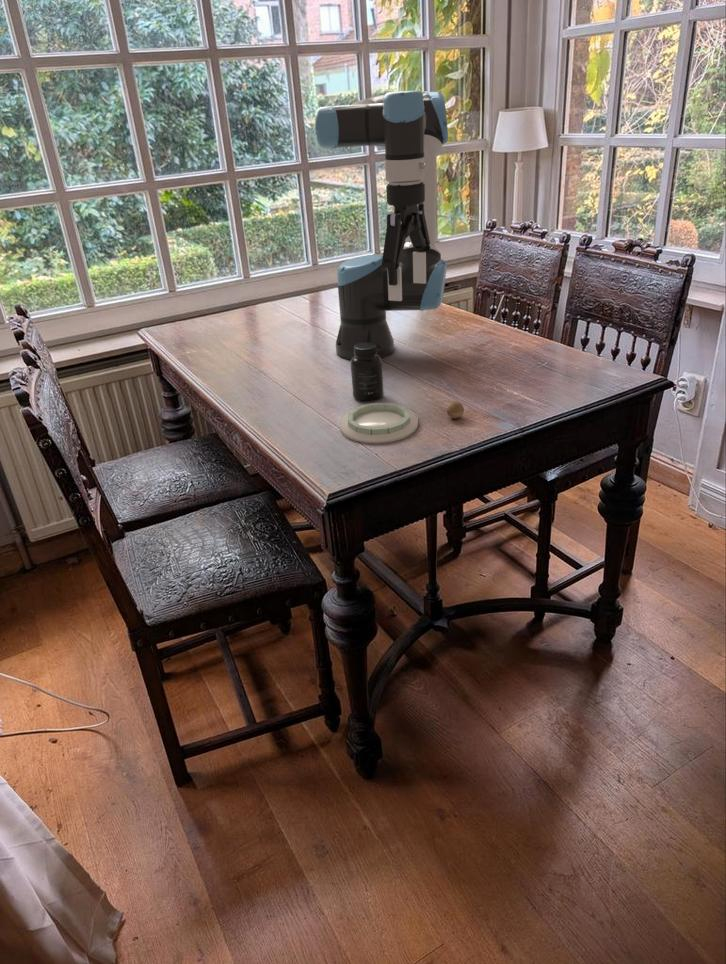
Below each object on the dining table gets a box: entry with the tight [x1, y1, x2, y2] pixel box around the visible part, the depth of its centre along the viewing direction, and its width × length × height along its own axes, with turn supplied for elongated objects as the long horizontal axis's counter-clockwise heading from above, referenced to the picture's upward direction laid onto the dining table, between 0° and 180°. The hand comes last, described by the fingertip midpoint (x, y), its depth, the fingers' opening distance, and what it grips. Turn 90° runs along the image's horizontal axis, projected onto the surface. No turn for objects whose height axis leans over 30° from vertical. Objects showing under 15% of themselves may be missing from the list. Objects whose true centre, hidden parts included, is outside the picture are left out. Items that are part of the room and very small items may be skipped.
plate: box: [339, 402, 419, 444], centre depth 138 cm, size 16×16×2 cm
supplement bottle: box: [350, 342, 384, 403], centre depth 149 cm, size 7×7×12 cm
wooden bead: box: [446, 401, 465, 420], centre depth 139 cm, size 4×4×4 cm
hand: (408, 291), depth 143 cm, fingers open, 13 cm apart
